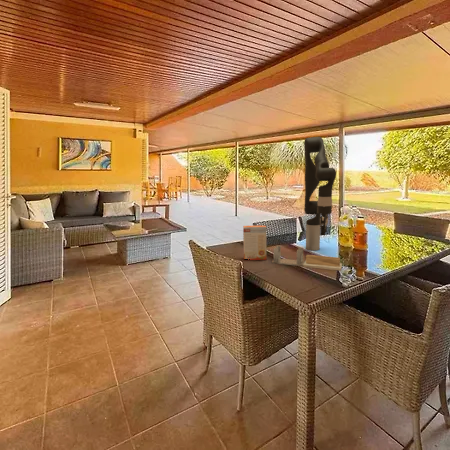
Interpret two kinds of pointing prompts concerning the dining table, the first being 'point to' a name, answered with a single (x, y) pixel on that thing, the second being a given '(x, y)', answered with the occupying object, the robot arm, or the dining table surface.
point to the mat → (323, 266)
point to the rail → (323, 260)
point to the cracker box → (254, 242)
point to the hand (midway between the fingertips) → (323, 233)
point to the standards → (286, 261)
